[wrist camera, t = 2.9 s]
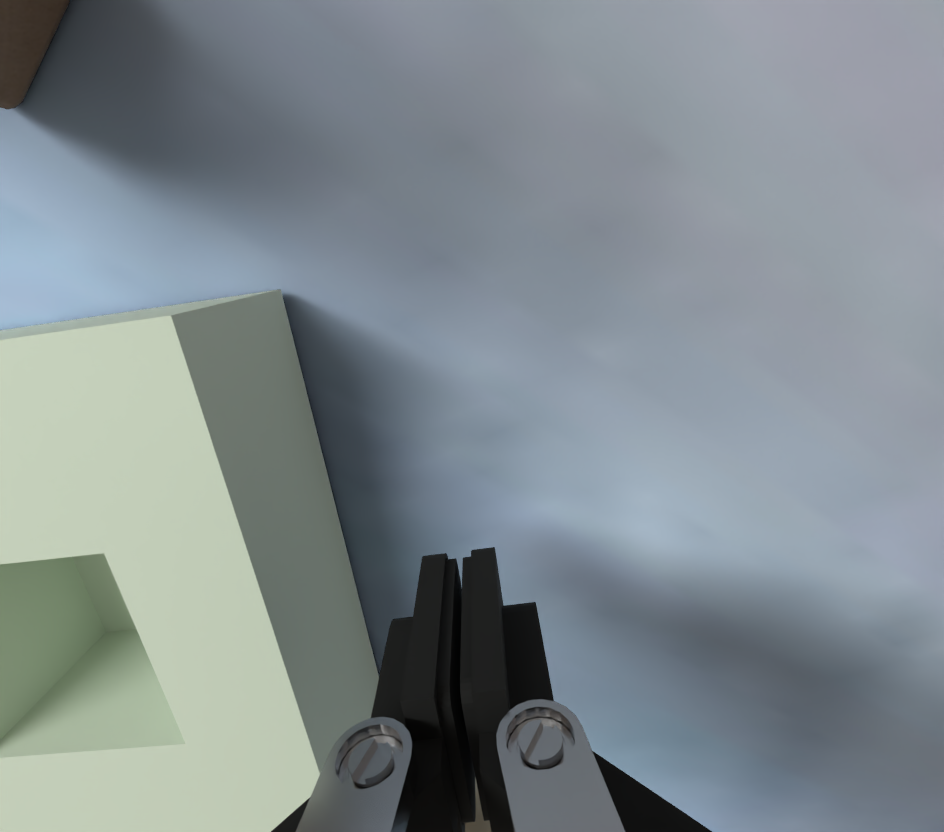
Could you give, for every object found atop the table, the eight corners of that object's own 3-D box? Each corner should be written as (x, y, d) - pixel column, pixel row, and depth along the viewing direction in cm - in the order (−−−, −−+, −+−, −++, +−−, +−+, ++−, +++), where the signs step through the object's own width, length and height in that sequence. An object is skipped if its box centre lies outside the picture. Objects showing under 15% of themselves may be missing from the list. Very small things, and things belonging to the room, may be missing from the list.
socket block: (280, 289, 14) (170, 315, 9) (385, 702, 18) (348, 862, 14) (-107, 345, 15) (-390, 396, 10) (85, 725, 19) (-47, 883, 15)
